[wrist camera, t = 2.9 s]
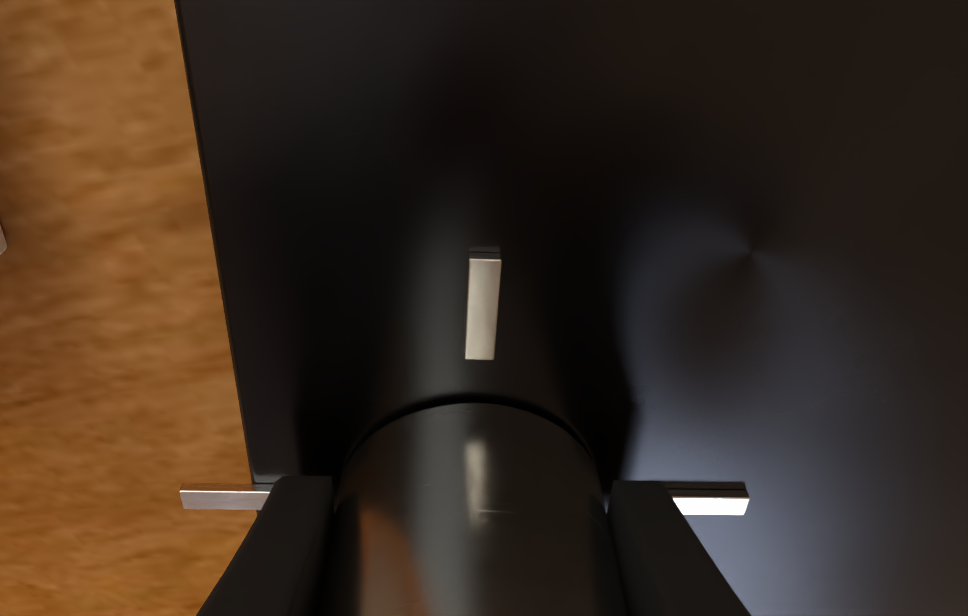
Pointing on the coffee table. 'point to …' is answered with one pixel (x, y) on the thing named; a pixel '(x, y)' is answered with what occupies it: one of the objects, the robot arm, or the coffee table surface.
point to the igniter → (2, 242)
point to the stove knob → (471, 521)
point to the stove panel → (615, 257)
